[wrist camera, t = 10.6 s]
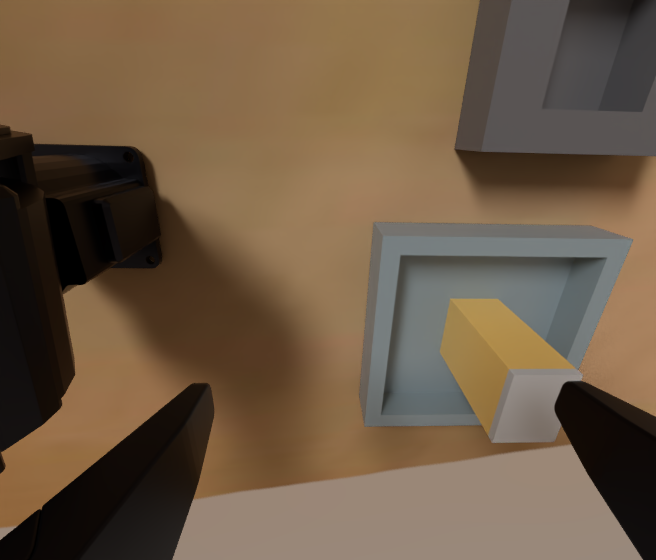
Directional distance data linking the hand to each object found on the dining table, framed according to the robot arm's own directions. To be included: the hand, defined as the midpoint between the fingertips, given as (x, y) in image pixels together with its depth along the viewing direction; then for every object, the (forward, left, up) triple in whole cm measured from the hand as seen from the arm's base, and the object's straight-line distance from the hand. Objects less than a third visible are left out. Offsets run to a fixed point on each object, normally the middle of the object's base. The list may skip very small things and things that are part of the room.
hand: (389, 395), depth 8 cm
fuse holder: (+10, +10, -12) cm, 19 cm away
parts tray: (+8, -5, -12) cm, 15 cm away
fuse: (+8, -5, -11) cm, 15 cm away
